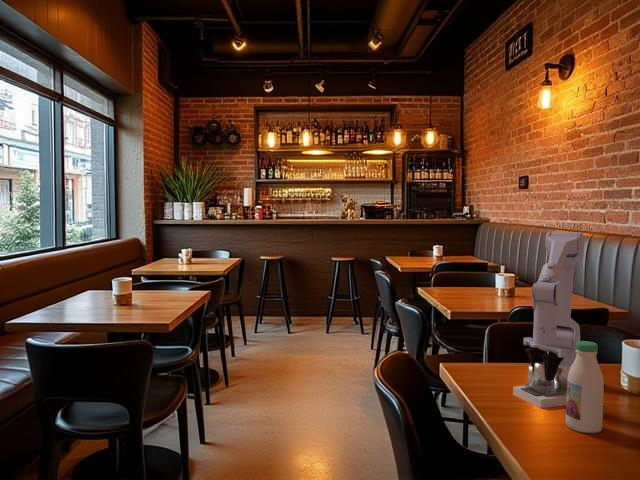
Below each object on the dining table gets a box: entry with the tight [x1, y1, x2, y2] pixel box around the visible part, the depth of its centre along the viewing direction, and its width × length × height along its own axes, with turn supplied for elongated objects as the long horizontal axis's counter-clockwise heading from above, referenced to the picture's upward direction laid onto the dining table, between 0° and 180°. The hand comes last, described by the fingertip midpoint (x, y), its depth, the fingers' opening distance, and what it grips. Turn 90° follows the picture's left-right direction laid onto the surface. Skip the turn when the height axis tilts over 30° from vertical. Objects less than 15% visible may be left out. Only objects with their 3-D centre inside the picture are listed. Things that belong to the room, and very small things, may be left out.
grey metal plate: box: [525, 381, 567, 396], centre depth 152 cm, size 11×8×1 cm
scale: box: [512, 385, 567, 409], centre depth 152 cm, size 14×11×2 cm
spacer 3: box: [553, 364, 571, 389], centre depth 153 cm, size 4×4×6 cm
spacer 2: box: [534, 361, 552, 387], centre depth 151 cm, size 4×4×6 cm
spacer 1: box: [527, 364, 534, 384], centre depth 163 cm, size 4×4×6 cm
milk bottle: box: [565, 340, 605, 434], centre depth 132 cm, size 8×8×20 cm
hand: (543, 377), depth 151 cm, fingers closed on spacer 2, 4 cm apart
